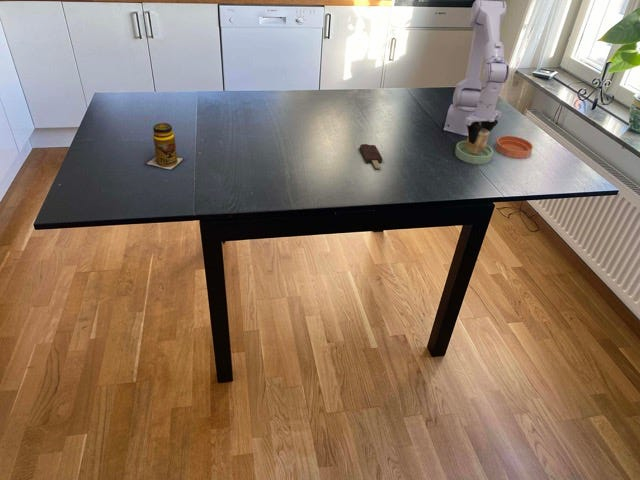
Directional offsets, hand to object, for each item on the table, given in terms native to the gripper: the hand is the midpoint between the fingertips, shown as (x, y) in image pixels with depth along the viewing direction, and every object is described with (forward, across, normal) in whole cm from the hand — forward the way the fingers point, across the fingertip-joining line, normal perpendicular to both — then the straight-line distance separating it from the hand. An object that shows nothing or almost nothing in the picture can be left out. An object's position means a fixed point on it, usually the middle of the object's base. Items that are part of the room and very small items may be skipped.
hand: (476, 141), depth 167 cm
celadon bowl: (+6, 0, 0) cm, 6 cm away
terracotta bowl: (+6, +16, -4) cm, 17 cm away
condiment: (+6, -92, +41) cm, 100 cm away
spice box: (+3, 0, 0) cm, 3 cm away
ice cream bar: (+6, -32, +14) cm, 35 cm away
